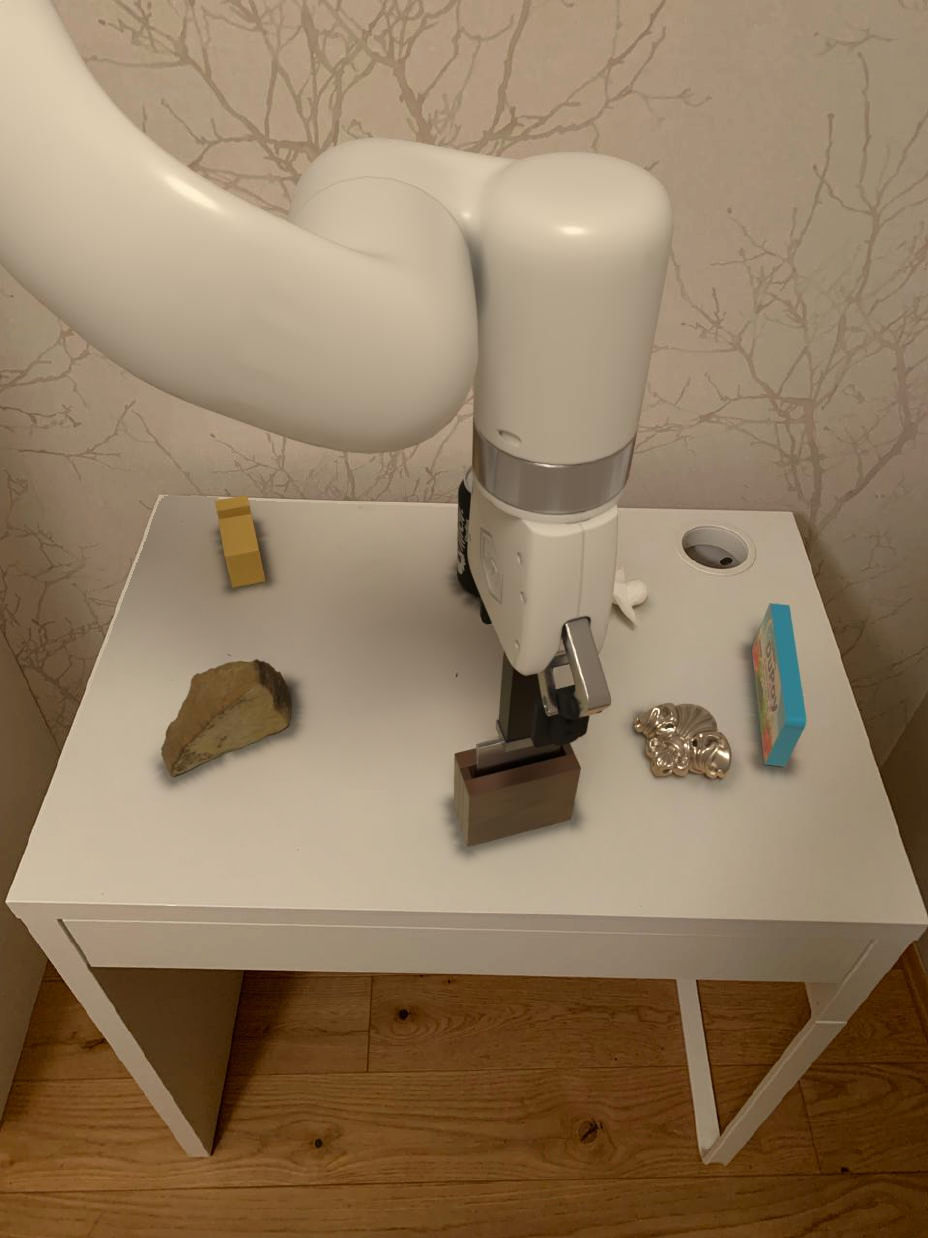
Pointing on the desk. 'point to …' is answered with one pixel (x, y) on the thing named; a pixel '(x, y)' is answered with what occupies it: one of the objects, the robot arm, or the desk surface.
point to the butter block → (241, 550)
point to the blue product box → (778, 686)
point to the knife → (513, 726)
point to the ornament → (684, 740)
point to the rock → (226, 713)
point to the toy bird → (628, 593)
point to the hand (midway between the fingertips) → (529, 674)
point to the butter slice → (232, 507)
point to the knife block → (514, 796)
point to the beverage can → (465, 534)
